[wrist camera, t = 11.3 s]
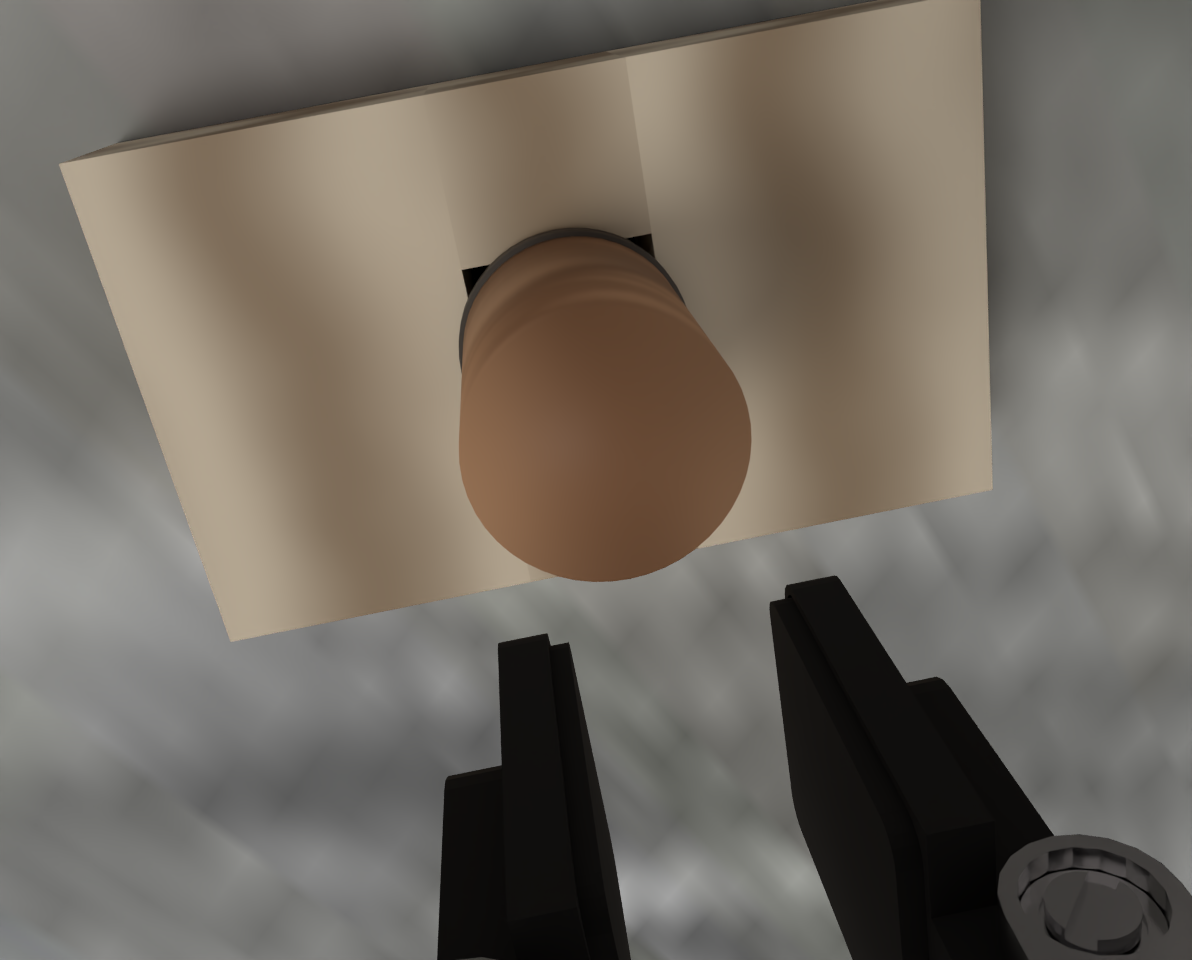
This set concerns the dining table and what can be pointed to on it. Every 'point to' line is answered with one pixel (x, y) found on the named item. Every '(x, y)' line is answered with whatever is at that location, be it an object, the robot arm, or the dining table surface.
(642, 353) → the peg
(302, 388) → the board
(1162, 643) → the dining table surface
